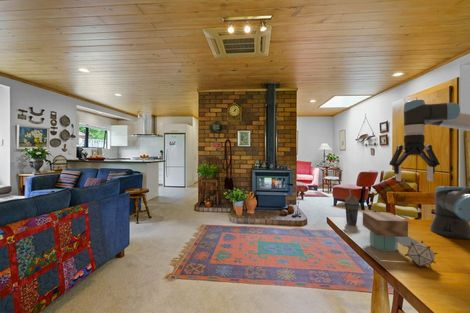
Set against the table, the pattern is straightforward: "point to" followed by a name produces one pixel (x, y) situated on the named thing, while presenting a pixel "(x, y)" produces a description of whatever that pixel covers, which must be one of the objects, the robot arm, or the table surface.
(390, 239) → the bowl
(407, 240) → the mat
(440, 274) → the table surface
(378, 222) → the brown wooden block
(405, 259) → the table surface
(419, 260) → the game die
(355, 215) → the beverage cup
